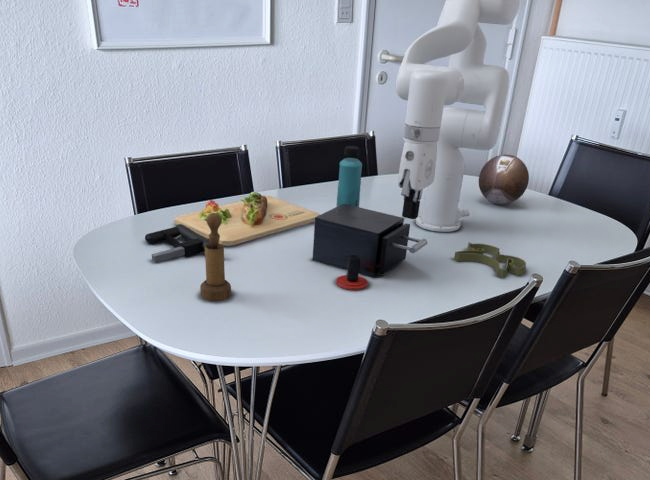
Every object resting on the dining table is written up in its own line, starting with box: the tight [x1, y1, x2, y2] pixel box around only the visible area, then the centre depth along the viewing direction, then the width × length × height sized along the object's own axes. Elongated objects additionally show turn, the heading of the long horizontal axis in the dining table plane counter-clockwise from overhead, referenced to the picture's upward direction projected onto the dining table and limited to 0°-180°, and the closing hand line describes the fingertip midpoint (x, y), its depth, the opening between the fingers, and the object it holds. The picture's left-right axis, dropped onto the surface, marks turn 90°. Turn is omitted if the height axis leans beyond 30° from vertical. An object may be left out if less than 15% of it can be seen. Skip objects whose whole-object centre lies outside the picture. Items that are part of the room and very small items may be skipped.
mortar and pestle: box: [199, 213, 232, 302], centre depth 135 cm, size 7×6×18 cm
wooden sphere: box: [478, 154, 530, 205], centre depth 203 cm, size 15×15×15 cm
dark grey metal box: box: [312, 204, 405, 278], centre depth 158 cm, size 17×14×11 cm
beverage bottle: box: [336, 145, 363, 207], centre depth 182 cm, size 6×7×20 cm
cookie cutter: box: [453, 242, 527, 278], centre depth 162 cm, size 18×12×2 cm, turn 43°
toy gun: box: [144, 224, 210, 264], centre depth 159 cm, size 3×20×16 cm
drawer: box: [376, 222, 428, 276], centre depth 155 cm, size 22×13×9 cm, turn 58°
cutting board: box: [173, 191, 320, 247], centre depth 178 cm, size 35×23×8 cm
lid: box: [335, 255, 369, 291], centre depth 146 cm, size 7×7×6 cm
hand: (409, 217), depth 147 cm, fingers closed
